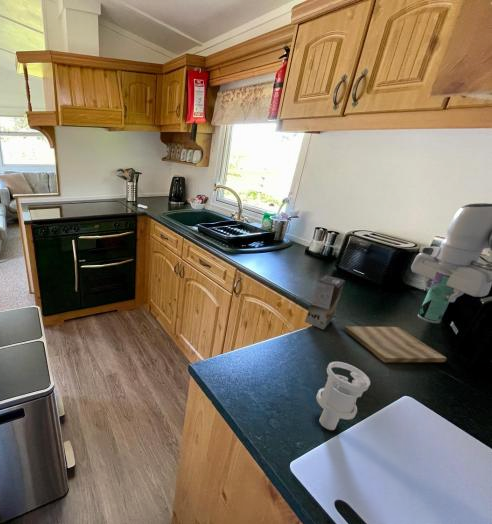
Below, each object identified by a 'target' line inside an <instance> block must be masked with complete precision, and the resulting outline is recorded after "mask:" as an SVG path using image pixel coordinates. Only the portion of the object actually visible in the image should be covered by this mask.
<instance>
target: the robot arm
mask: <svg viewBox="0 0 492 524" xmlns="http://www.w3.org/2000/svg"><path fill="white" fill-rule="evenodd" d="M446 230H447V231H446V236H445V238H444V239H443V240H442V241H441V243H440V245H435V246H421V247H420V248H419V253H418V254H417V255H416V256H415V258H414V260H413V261H412V264H411V266H410V269H411V272H412V273H414V274H417V275H420V276H422V277H424V278H423V282H424V288H423V291H424V292H427V293H428V291H429V289H430V286H431V284H432V282H433V280H434V278H435V275H436V273H437V271H438V270H439V268H446V269H448V270H450V271H451V272H452V273H453V274H450V277H449V279H448V281H447V283H446V285H447V286H449V287H451V288H454V290H453V292H454V293H453V294H452V295H447V296H446V298H445V300H447V301H449V303H455V301H456V300H457V298H459V297H461V296H463V295H464V294H466V295H469V296H471V297H475V298H476V297H477V298H483V297H485V296H488V295H489V293H490V291H491V288H492V266H490V265H487V264H484V263H481V262H478V261H479V259H480V257H481V255H482V253H483V251H484V249H490V251H491V252H492V203H486V202H485V203H483V202H481V203H480V202H479V203H468V204H465V205H463V206H461V207H460V208H459V209H458V210H457V211H456V213H455V214H454V216H453V217H452V219H451V220H450V223H449V225H448V227H447V229H446Z"/></svg>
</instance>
